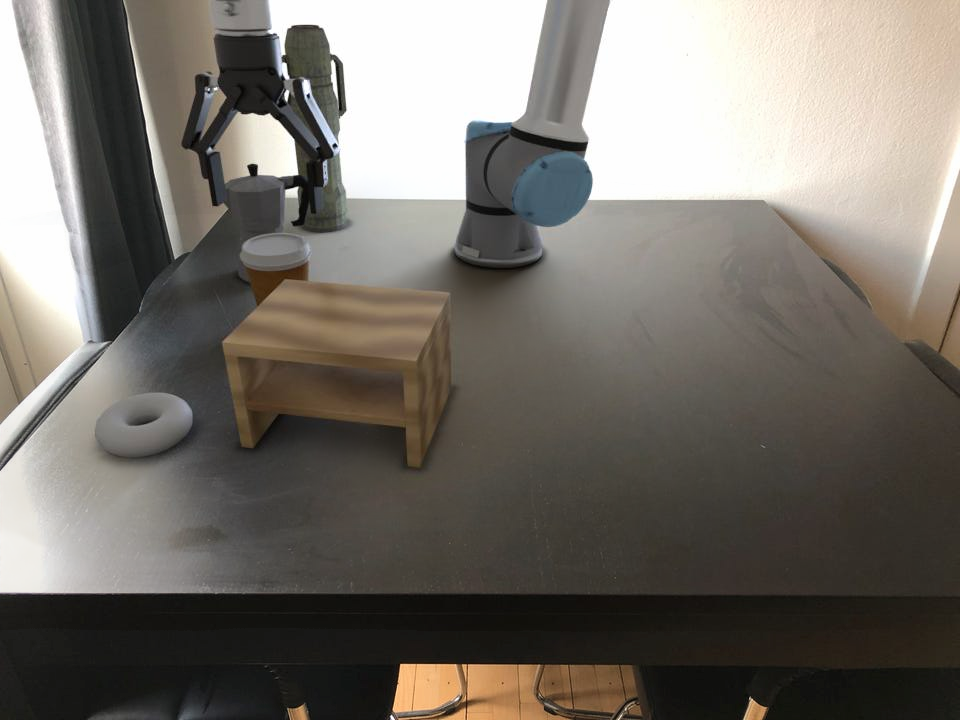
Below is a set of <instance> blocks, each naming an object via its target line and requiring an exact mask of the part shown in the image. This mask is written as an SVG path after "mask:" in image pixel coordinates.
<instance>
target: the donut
mask: <svg viewBox="0 0 960 720" xmlns="http://www.w3.org/2000/svg"><path fill="white" fill-rule="evenodd" d="M192 426H193V411H192V408H191V407H190V405H189V404H188V403H187V402H186V401H185V400H184V399H183V398H180V397H179V396H178V395H175V394H171V393H167V392H146V393H139V394H135V395H131V396H128V397H125V398H123V399H121V400H118V401H116V402H114V403H113V404H111V405H110V406H108V408H106V409H104V411H102V413H101V414H100V416H99V417H98V418H97V420H96V423H95V426H94V437H95V439H96V442H97V443H98V445H99V447H100V448H102V450H104V451H106V452H108V453H109V454H111V455H114V456H118V457H123V458H143V457H149V456H153V455H156V454H160V453H162V452H165V451H167V450H169V449H171V448H173V447H175V446H176V445H177V444H179V443H180V442H181V441H182V440H183V439H184V438H185V437H187V435H188V433H189V432H190V430H191V428H192Z"/></svg>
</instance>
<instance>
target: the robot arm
mask: <svg viewBox="0 0 960 720" xmlns="http://www.w3.org/2000/svg"><path fill="white" fill-rule="evenodd" d="M207 2H208V9H209V15H210V23H211V27H212V28H213V29H214V30H215V31H217V33H216V34H214V36H213V44H214V51H215V58H216V64H217V67H218V69H219V70H218V71H219V72H218V75H216V74H213V73H212V71H208V70H207V71H204V72H201V73H197V74H196V75H195V76H194V89H195V94H194V98H193V101H192V104H191V108H190V112H189V115H188V118H187V121H186V126H185V129H184V132H183V136H182V139H181V142H180V144H181V147H182V148H183V149H184V150H191V151H193V152H194V153H196V154H197V156H198V161H199V167H200V173H201V176H202V179H203V180H207V181H208V188H209V195H210V199H211V200H210V201H211V205H212V207H216V208H217V207H220V206H221V205H222V204H224V202H226V201H227V195H226V189H225V183H226V182H225V176H224V170H223V164H222V158H221V157H222V156H221V152H220V151H213V150H215V149H216V146H217V144H218V143H219V141H220V140H221V138H222V136H223V135H224V133H225V132H226V131H227V129H228V127H229V126H230V124H231V123H232V121H233V120H234V118H235V116H236V115H237V114H238V113H240V115H250V114H254V115H257V116H264V117H265V116H267V115H270V116H271V117H272V119H274V120H275V121H278V122H279V123H280V125H281V126H282V127H283V129H285V131H286V132H287V133H288V134H289V135H290V136H291V138H292V139H293V140H295V141H296V142H297V143H298V144H299V146H300V147H301V148H302V149H303V150H304V152H305V153H306V154H307V155H308V156H309V157H310V159H311V160H310V161H309V162H307V163H306V169H307V179H308V189H309V200H310V210H311V214H317V213H318V212H319V211H320V210H322V209H323V208H324V205H323V193H322V187H324V186H325V185H327V182H328V174H327V159H331V158H333V157H334V156H336V155H337V154H338V153H340V152H341V147H340V144H339V145H338V143H337V141H336V139H335V137H334V136H333V134H332V132H331V130H330V128H329V126H328V124H327V122H326V120H325V119H324V117H323V115H322V113H321V111H320V109H319V107H318V105H317V104H316V102H315V100H314V98H313V96H312V92H311V87H310V82H309V79H308V78H307V77H306V76H302V77H299V78H297V79H289V78H286V77H285V75H284V73H283V63H282V50H281V39H280V36H279V35H278V33H276V32H274V30H276V29H277V28H278V27H279V18H278V11H277V3H276V0H207ZM611 3H612V0H546V4H545V10H544V15H543V21H542V24H541V29H540V35H539V38H538V44H537V49H536V54H535V58H534V62H533V63H534V64H533V69H532V73H531V78H530V83H529V88H528V94H527V98H526V104H525V107H524V108H525V109H524V111H523V113H522V114H521V115H520V116H495V117H493V116H492V117H485V118H484V117H483V118H477V119H473V120H471V121H470V122H469V123H468V124H467V125H466V129H465V140H464V146H465V147H464V148H465V150H464V151H465V153H464V154H465V210H464V213H463V215H462V216H463V217H462V220H461V223H460V226H459V228H458V232H457V234H456V238H455V244H454V247H455V248H454V249H455V251H454V252H455V255H456V257H458V258H459V259H460V260H462V261H463V262H465V263H468V264H471V265H473V266H477V267H478V266H479V267H481V268H489V269H490V268H491V269H510V268H511V269H512V268H517V267H518V268H519V267H523V266H527V265H530V264H532V263H534V262H536V261H537V260H539V259H540V258H541V256H542V253H543V241H542V237H541V234H540V229H539V227H542V228H552V227H558V226H561V225H564V224H566V223H568V222H569V221H570V220H572V218H575V217H576V216H578V214H579V213H581V211H582V210H584V207H585V206H586V204H587V202H588V201H589V199H590V196H591V195H592V190H593V186H594V185H593V183H594V182H593V181H594V180H593V172H592V171H591V169H590V166H589V164H588V162H587V161H586V160H585V157H586V154H587V150H588V145H589V141H590V137H589V135H588V134H587V132H586V130H585V128H584V126H583V122H584V117H585V114H586V109H587V105H588V100H589V96H590V93H591V88H592V84H593V79H594V75H595V71H596V68H597V67H596V66H597V62H598V58H599V54H600V49H601V46H602V42H603V36H604V33H605V29H606V24H607V20H608V15H609V11H610V7H611ZM218 88H219V90H220V91H221V92H222V94H223V95H224V96H225V97H226V98H225V99H224V101H223V103H222V104H221V106H220V107H219V109H218V112H217V114H216V115H215V117H214V118H213V120H212V121H211V123H210V125H209V126H208V128H207V130H206V131H205V132H204V129H205V125H206V123H207V119H208V116H209V113H210V109H211V105H212V102H213V99H214V96H215V92H217V91H218ZM287 91H288V93H289V92H290V94H291V95H292V96H293V97H294V98H295V99H296V102H297V104H298V106H299V108H300V110H301V112H302V114H303V115H304V117H305V119H306V121H307V123H308V125H309V127H310V128H311V130H312V132H313V134H314V136H315V137H314V136H313V135H312V134H311V132H310V131H309V130H308V129H307V128H306V126H305V125H304V124H303V123H302V122H301V121H300V119H299V118H298V117H297V116H296V115H295V113H294V112H293V111H292V108H291V106H290V105H289V104H288V103H287V100H286V98H285V99H284V98H283V96H284V95H285V94H286V92H287ZM203 133H204V134H203ZM316 139H317V140H316Z"/></svg>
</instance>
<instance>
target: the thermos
mask: <svg viewBox="0 0 960 720" xmlns="http://www.w3.org/2000/svg"><path fill="white" fill-rule="evenodd" d="M283 47H284V54H281V57H282V64H283V63H284V64H286V72H287V76H288V79H297V78H299V77H302V76H306V77H307V78H308V79H309V82H310V87H311V92H312V96H313V98H314V100H315V102H316V104H317V105H318V107H319V109H320V111H321V113H322V115H323V117H324V119H325V120H326V122H327V124H328V126H329V128H330V130H331V132H332V134H333V136H334V137H335V139H336V141H337V143H338V145H339V146H340V144H339V143H340V141H339V134H340V131H341V124H340V119H341V117H343V116H344V114H346V112H347V111H348V110H347V109H348V108H347V100H346V85H345V73H344V64H343V62H342V60H341V59H340V58H339V57H338V56H337V55H336V54H332V53H331V48H330V47H331V45H330V42H329V39H328V37H327V34H326V32H325V30H324V27H320V25H319V24H318V25H317V24H293V25H291V27H288V28H287V29H286V34H285V39H284V45H283ZM332 62H333V63H334V66H335V69H334V70H335V79H336V80H335V81H336V92H337V93H335V90H334V83H333V82H332V75H333V71H332ZM336 94H337V95H336ZM283 98H284V99H285V100H286V97H285V94H284V96H283ZM286 101H287V103H288V104H289V105H290V106H291V108H292V111H293V112H294V113H295V115H296V116H297V117H298V118H299V119H300V121H301V122H302V123H303V124H304V125H305V126H306V128H307V129H308V130H309V131H310V132H311V134H312V135H313V136H314V134H313V132H312V130H311V128H310V127H309V125H308V123H307V121H306V119H305V117H304V115H303V114H302V112H301V110H300V108H299V106H298V104H297V102H296V99H295V98H294V97H293V96H292V95H291V94H290V92H289V91H288V96H287V100H286ZM314 137H315V136H314ZM293 140H294V139H293ZM316 140H317V139H316ZM293 142H294V149H295V150H294V151H295V157H296V167H297V175H303V176H304V177H305V178H306V179H307V169H306V163H307V162H309V161H310V160H311V159H310V157H309V156H308V155H307V154H306V153H305V152H304V150H303V149H302V148H301V147H300V146H299V144H298V143H297V142H296V141H295V140H294V141H293ZM341 167H342V166H341V153H340V152H339V153H338V154H337V155H336V156H334V157H333V158H331V159H327V174H328V182H327V185H325V186H324V187H322V193H323V205H324V208H323V209H322V210H320V211H319V212H318V213H317V214H311V210H310V205H309V209H308V213H307V218H306V222H305V224H304V225H301V227H302V229H304V230H306V231H308V232H315V233H327V232H335V231H338V230H341V229H344V228H345V227H347V226H348V223H349V222H348V218H347V213H348V202H347V191H346V187H345V185H344V184H343V179H342V178H343V177H342V168H341ZM307 180H308V179H307ZM302 190H303V188H302V187H297V190H296V193H297V202H298V207H299V206H300V204H301V193H302Z"/></svg>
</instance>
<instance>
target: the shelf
mask: <svg viewBox="0 0 960 720" xmlns="http://www.w3.org/2000/svg"><path fill="white" fill-rule="evenodd" d="M451 334H452V333H451V292H447V291H434V290H423V289H421V290H420V289H409V288H397V287H386V286H385V287H384V286H372V285H361V284H348V283H336V282H323V281H313V280H312V281H311V280H309V281H301V280H289V279H285V280H284V281H283V282H282V283H281V284H280V285H279V286H278V287H277V288H276V289H275V290H274V291H273V292H272V293H271V294H270V295H269V296H268V297H267V298H266V299H265V300H264V301H263V302H262V303H261V304H260V305H259V306H258V307H257V306H256V307H255V308H254V309H253V310H252V312H250V313H249V315H247V316H246V318H245V319H243V321H241V323H240V324H239V325H237V326H236V327H235V328H234V329H233V330H232V332H231V333H229V335H228V336H227V337H225V338H224V340H222V342H221V344H222V350H223V355H224V359H225V365H226V366H225V367H226V371H227V376H228V382H229V387H230V392H231V398H232V404H233V409H234V414H235V419H236V425H237V431H238V436H239V441H240V446H241V448H248V449H254V448H255V446H256V445H257V444H258V443H259V441H260V440H261V439H262V437H263V436H264V434H265V433H266V432H267V430H268V429H269V428H270V426H271V425H272V424H273V422H274V421H275V420H276V418H277V416H278V415H279V414H280V415H290V416H298V417H307V418H315V419H316V418H317V419H324V420H325V419H326V420H333V421H334V420H335V421H344V422H354V423H362V424H372V425H381V426H390V427H397V428H398V427H399V428H405V443H406V463H407V467H409V468H416V469H417V468H419V469H420V468H421V467H422V465H423V462H424V459H425V456H426V454H427V451H428V449H429V446H430V444H431V441H432V438H433V436H434V434H435V431H436V428H437V425H438V423H439V421H440V418H441V416H442V413H443V411H444V408H445V406H446V403H447V401H448V397H449V395H450V392H451V389H452V350H451V349H452V348H451V347H452V346H451V345H452V344H451V343H452V342H451V340H452V339H451V336H452V335H451Z"/></svg>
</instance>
